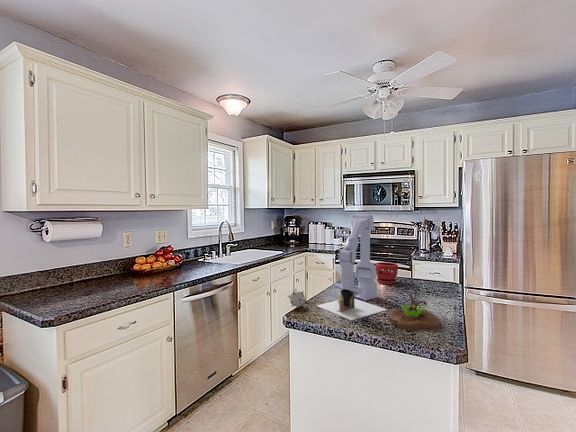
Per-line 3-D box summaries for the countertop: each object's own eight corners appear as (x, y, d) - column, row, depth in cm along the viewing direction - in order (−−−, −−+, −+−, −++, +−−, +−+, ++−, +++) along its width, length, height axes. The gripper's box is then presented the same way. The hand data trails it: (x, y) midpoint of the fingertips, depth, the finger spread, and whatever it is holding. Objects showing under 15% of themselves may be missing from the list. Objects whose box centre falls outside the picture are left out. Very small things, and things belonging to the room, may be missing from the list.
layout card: (350, 297, 161) (350, 297, 161) (387, 310, 142) (387, 309, 142) (316, 306, 148) (316, 305, 148) (351, 320, 129) (351, 319, 129)
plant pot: (400, 285, 186) (400, 265, 186) (378, 285, 186) (378, 265, 186) (393, 280, 199) (393, 261, 199) (373, 280, 199) (373, 261, 199)
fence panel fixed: (355, 307, 144) (355, 294, 144) (352, 308, 143) (352, 294, 143) (339, 302, 153) (339, 289, 153) (337, 302, 152) (337, 289, 152)
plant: (428, 313, 138) (428, 288, 137) (447, 331, 118) (448, 302, 118) (382, 312, 139) (382, 288, 139) (394, 330, 120) (394, 301, 119)
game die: (296, 316, 145) (286, 302, 140) (291, 304, 152) (282, 291, 148) (312, 306, 145) (304, 292, 140) (307, 295, 153) (298, 281, 148)
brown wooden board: (349, 307, 144) (349, 296, 144) (351, 307, 143) (351, 297, 143) (339, 311, 139) (339, 300, 138) (341, 311, 138) (341, 300, 138)
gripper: (329, 274, 142) (328, 304, 142) (355, 280, 131) (355, 312, 131) (338, 272, 147) (338, 301, 147) (364, 277, 136) (364, 308, 136)
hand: (347, 306), depth 139 cm, fingers closed
